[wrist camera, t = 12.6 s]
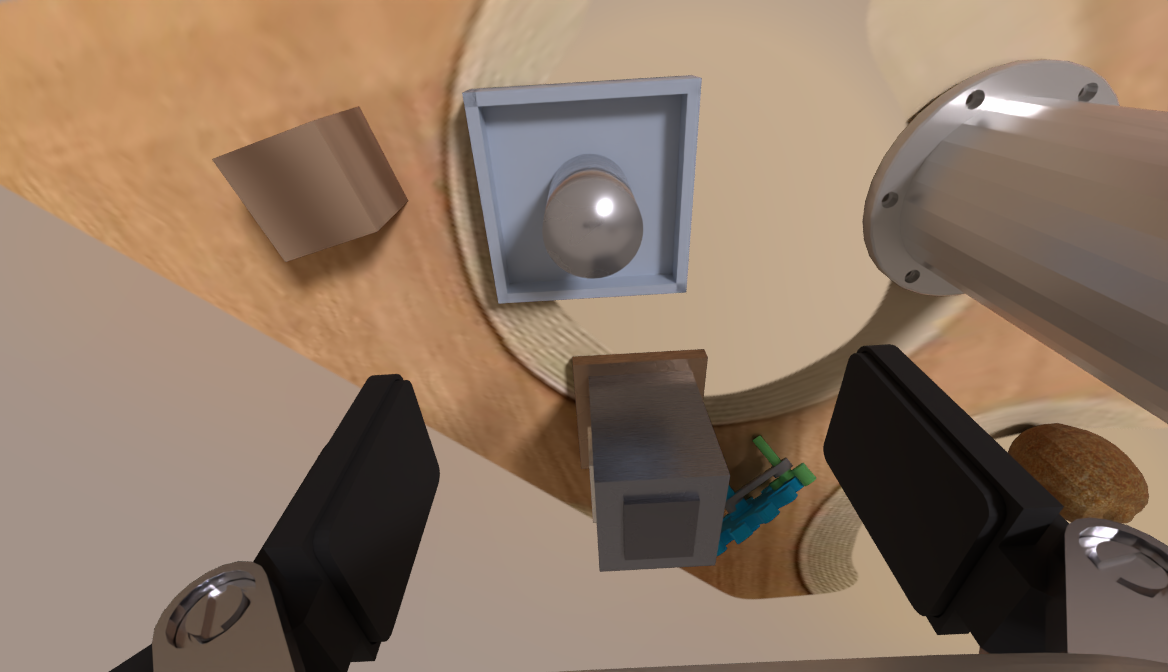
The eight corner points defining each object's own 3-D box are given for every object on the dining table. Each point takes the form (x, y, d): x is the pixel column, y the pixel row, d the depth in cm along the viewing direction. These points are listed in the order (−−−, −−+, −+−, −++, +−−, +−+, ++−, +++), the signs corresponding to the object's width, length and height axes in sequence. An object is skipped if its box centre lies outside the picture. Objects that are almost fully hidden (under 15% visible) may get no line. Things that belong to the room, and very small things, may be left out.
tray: (692, 75, 23) (701, 77, 21) (679, 277, 29) (686, 292, 27) (470, 88, 23) (462, 92, 21) (502, 288, 29) (498, 303, 27)
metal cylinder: (630, 152, 24) (645, 178, 19) (628, 234, 27) (641, 277, 21) (546, 155, 24) (538, 181, 19) (551, 236, 27) (545, 280, 21)
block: (359, 106, 24) (313, 120, 19) (408, 200, 26) (377, 231, 22) (274, 138, 24) (211, 159, 20) (330, 227, 27) (285, 262, 23)
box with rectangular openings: (704, 349, 32) (754, 464, 23) (693, 452, 37) (731, 578, 29) (572, 356, 32) (573, 475, 23) (580, 459, 37) (584, 586, 29)
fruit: (1039, 462, 39) (1137, 551, 32) (969, 459, 39) (1054, 548, 32) (1088, 405, 36) (1210, 491, 29) (1012, 401, 35) (1117, 487, 28)
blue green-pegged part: (711, 545, 41) (691, 588, 32) (669, 487, 43) (640, 512, 34) (816, 473, 39) (828, 497, 30) (767, 415, 41) (764, 421, 32)
